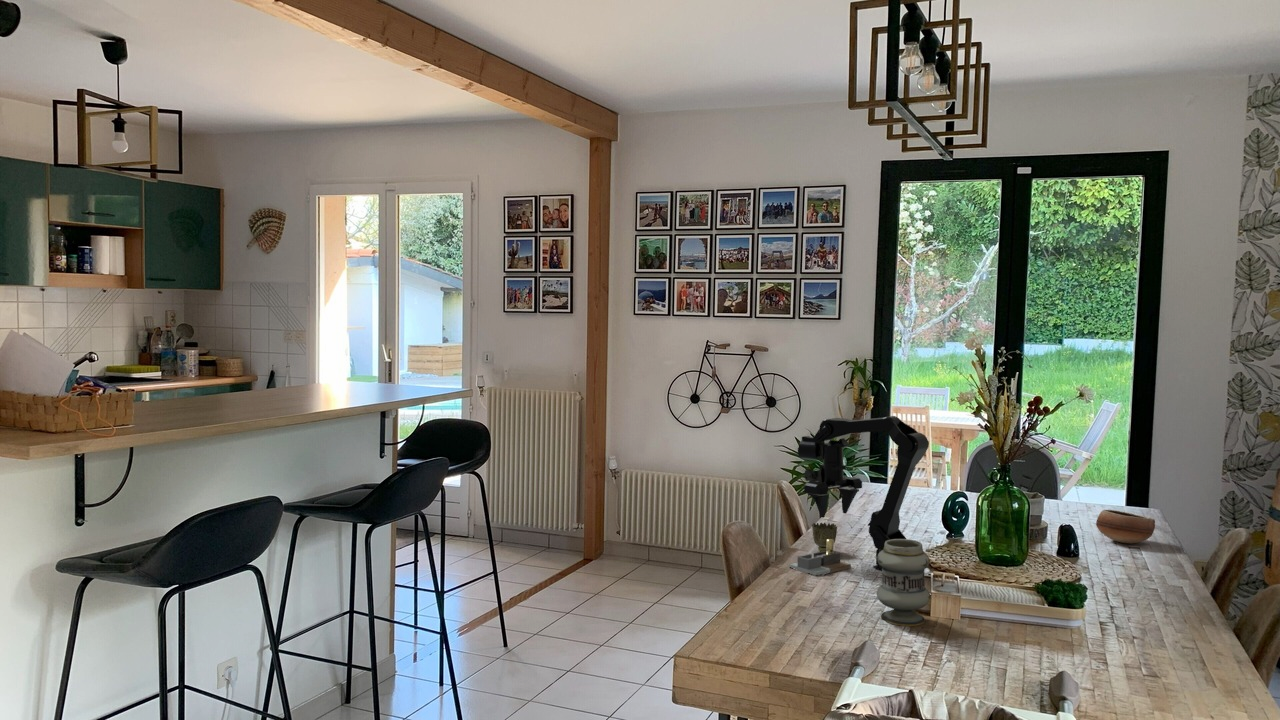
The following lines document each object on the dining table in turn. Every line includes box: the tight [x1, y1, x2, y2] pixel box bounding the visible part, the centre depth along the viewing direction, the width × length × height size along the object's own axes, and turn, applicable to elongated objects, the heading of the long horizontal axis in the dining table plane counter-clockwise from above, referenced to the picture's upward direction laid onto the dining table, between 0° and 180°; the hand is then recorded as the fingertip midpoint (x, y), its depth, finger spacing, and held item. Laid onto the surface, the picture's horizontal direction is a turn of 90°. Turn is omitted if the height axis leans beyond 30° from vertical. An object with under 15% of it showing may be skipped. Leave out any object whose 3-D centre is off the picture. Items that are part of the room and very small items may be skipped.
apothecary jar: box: [876, 538, 931, 627], centre depth 220 cm, size 12×12×18 cm
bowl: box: [1095, 509, 1156, 544], centre depth 296 cm, size 16×16×10 cm
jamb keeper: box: [788, 553, 831, 576], centre depth 262 cm, size 10×6×4 cm, turn 37°
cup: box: [811, 522, 838, 552], centre depth 283 cm, size 8×7×8 cm
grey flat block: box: [813, 551, 852, 573], centre depth 266 cm, size 10×8×4 cm
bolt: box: [813, 539, 835, 565], centre depth 266 cm, size 2×6×6 cm, turn 127°
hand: (833, 515), depth 275 cm, fingers open, 9 cm apart
